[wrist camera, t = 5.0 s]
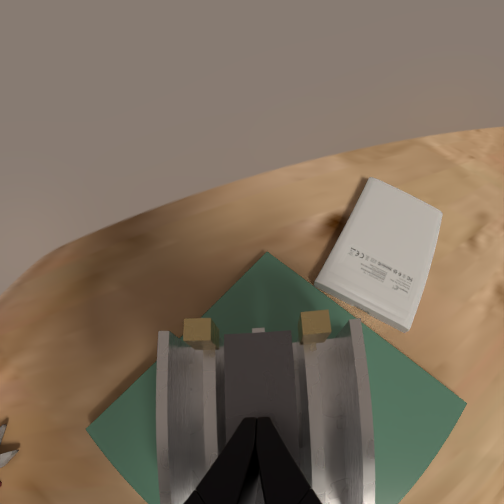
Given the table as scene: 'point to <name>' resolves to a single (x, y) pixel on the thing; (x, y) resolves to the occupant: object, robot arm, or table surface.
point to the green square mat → (286, 318)
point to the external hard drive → (383, 254)
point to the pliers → (4, 458)
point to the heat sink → (308, 409)
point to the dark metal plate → (261, 385)
